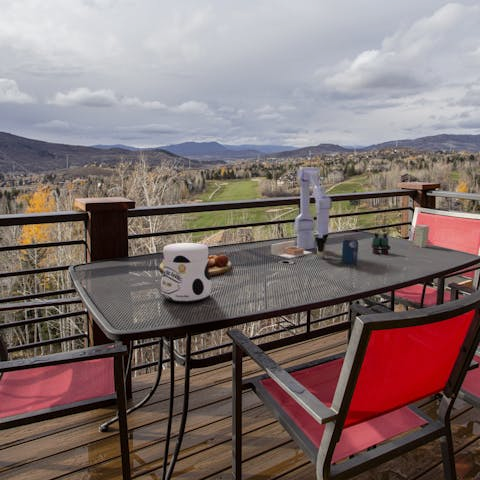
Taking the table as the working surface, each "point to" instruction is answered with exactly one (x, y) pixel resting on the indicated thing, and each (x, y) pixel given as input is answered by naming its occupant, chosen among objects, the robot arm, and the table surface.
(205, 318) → the table surface
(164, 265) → the milk container
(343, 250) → the soda can
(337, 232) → the table surface
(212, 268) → the wooden plate with food
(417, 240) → the skincare box
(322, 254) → the beige cylinder
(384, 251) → the binoculars
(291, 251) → the cup bracket
